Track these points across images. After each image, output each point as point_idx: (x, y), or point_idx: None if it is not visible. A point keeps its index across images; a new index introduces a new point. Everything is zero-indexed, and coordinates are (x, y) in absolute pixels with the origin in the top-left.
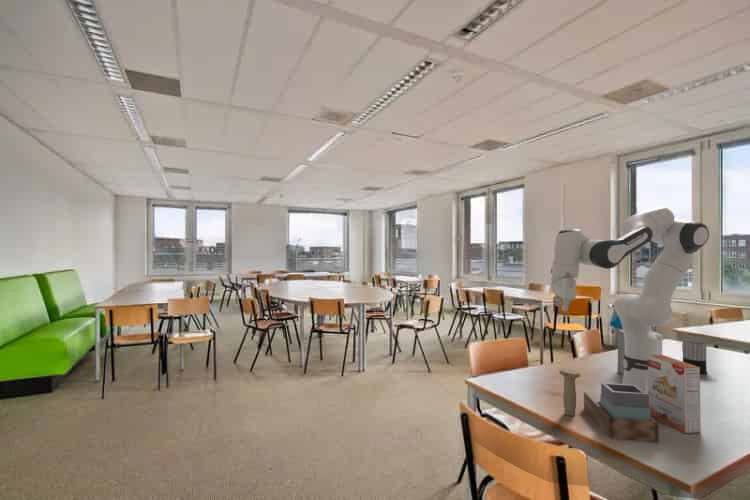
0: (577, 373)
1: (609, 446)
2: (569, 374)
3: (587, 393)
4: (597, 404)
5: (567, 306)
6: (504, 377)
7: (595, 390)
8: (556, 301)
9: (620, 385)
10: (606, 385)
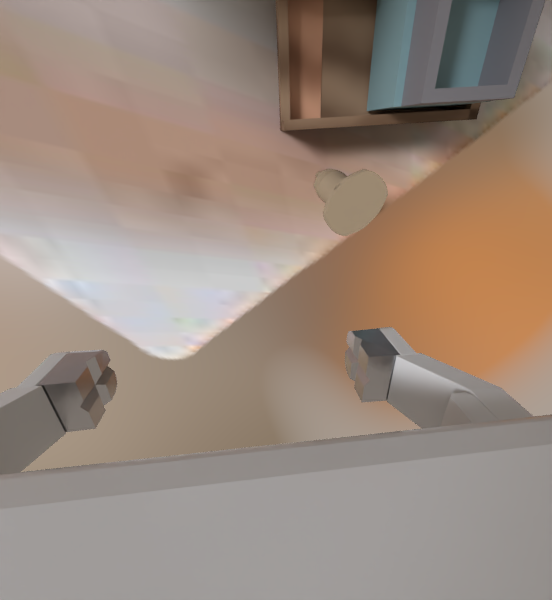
0: (380, 183)
1: (477, 136)
2: (377, 210)
3: (294, 121)
4: (382, 119)
5: (421, 360)
6: (111, 298)
7: (86, 22)
8: (82, 427)
9: (446, 20)
10: (450, 93)
